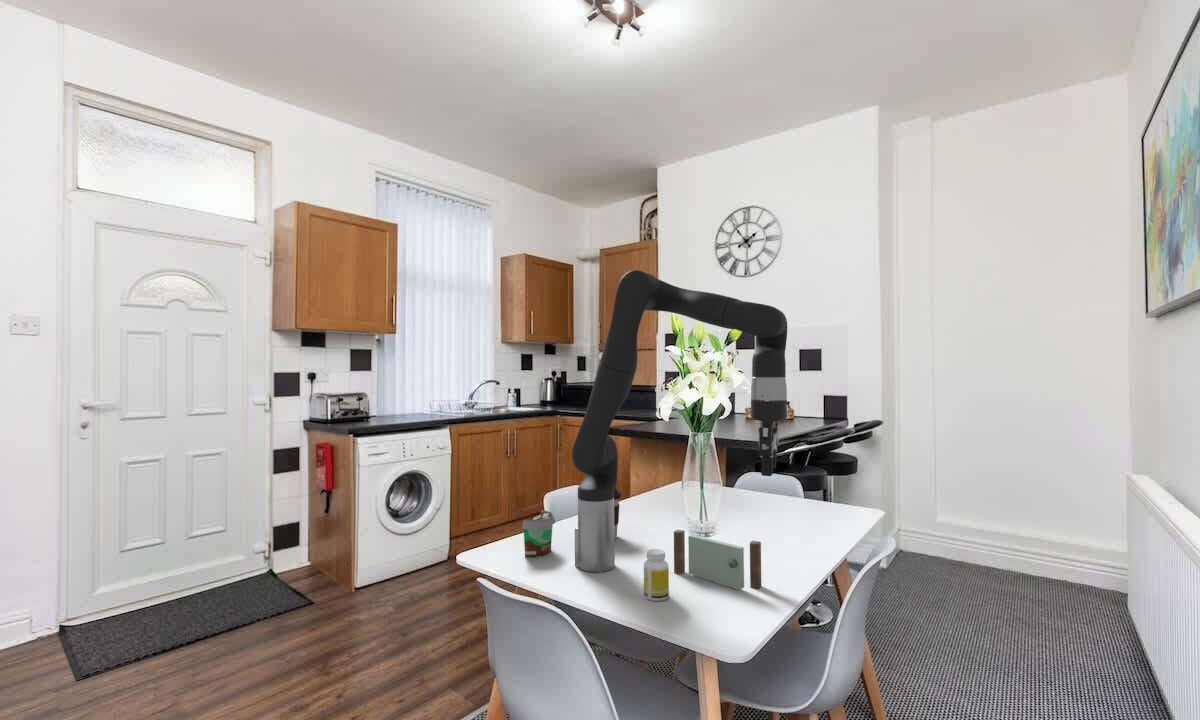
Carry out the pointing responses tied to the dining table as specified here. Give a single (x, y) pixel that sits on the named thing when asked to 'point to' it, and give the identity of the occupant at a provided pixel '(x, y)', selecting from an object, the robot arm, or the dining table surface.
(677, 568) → the door frame
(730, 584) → the door
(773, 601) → the dining table surface
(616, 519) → the coffee cup
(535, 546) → the food container
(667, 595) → the supplement bottle
